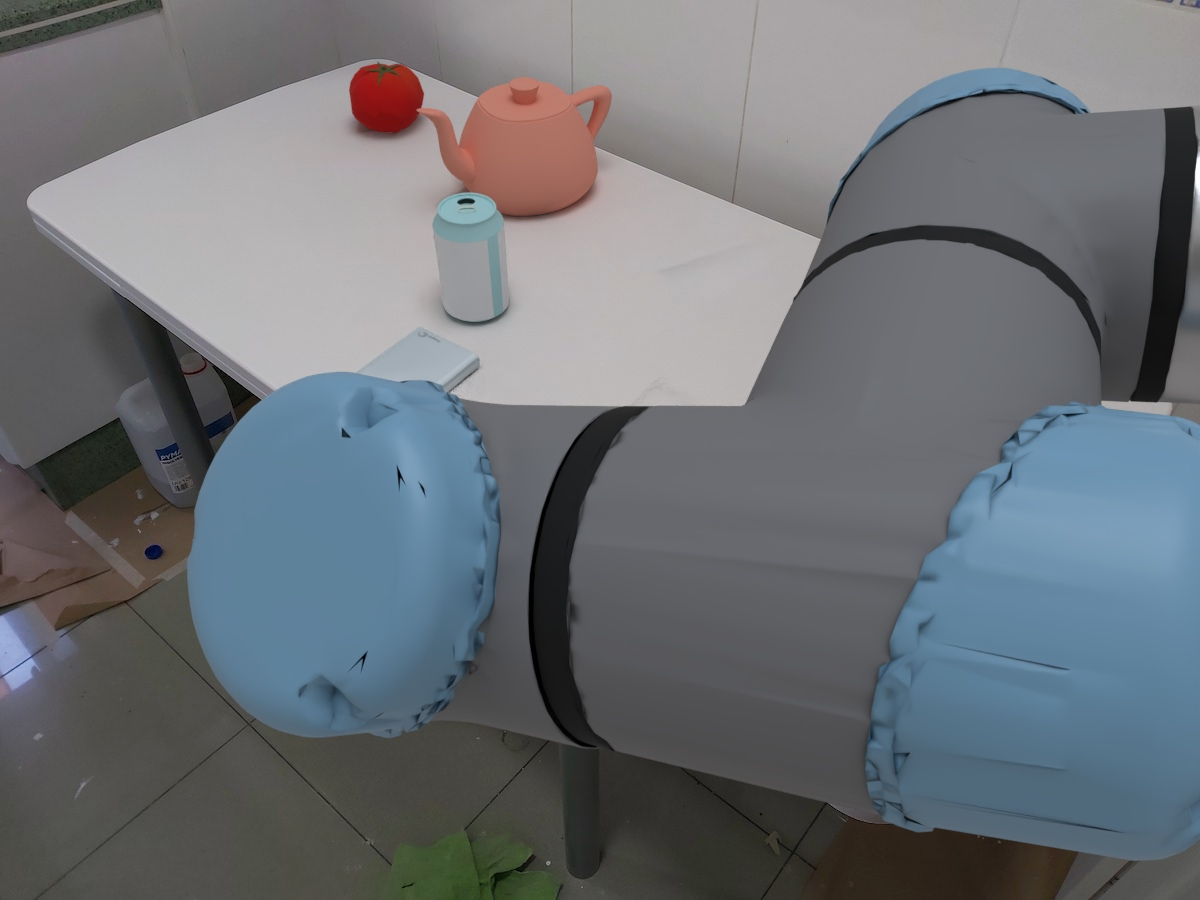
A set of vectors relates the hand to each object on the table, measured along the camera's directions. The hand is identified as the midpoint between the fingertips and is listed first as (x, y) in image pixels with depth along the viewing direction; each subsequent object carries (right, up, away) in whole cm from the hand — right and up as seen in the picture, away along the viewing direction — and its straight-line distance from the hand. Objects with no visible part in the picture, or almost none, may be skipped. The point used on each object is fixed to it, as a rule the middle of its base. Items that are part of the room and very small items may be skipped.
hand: (805, 570), depth 49 cm
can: (-25, +22, +46) cm, 57 cm away
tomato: (-40, +52, +74) cm, 99 cm away
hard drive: (-30, +13, +37) cm, 50 cm away
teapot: (-21, +40, +63) cm, 78 cm away
